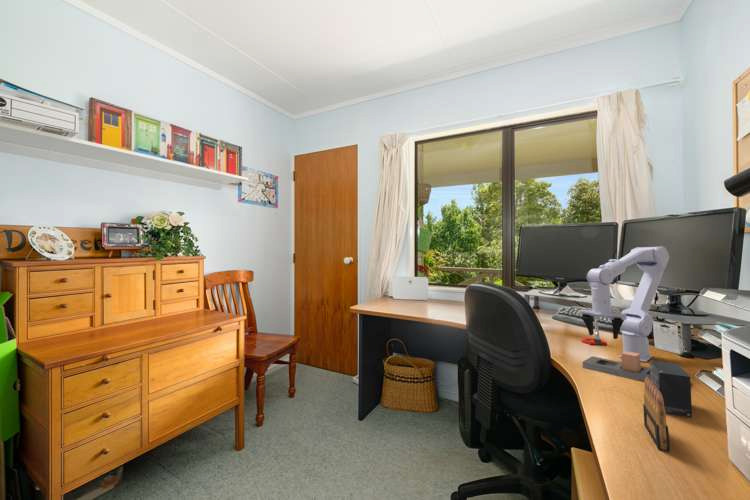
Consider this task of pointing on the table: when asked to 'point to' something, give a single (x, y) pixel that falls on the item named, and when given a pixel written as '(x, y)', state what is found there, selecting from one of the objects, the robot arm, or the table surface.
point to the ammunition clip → (655, 416)
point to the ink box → (667, 338)
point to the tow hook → (597, 340)
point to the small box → (672, 387)
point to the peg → (631, 361)
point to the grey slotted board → (615, 368)
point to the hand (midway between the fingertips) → (603, 336)
